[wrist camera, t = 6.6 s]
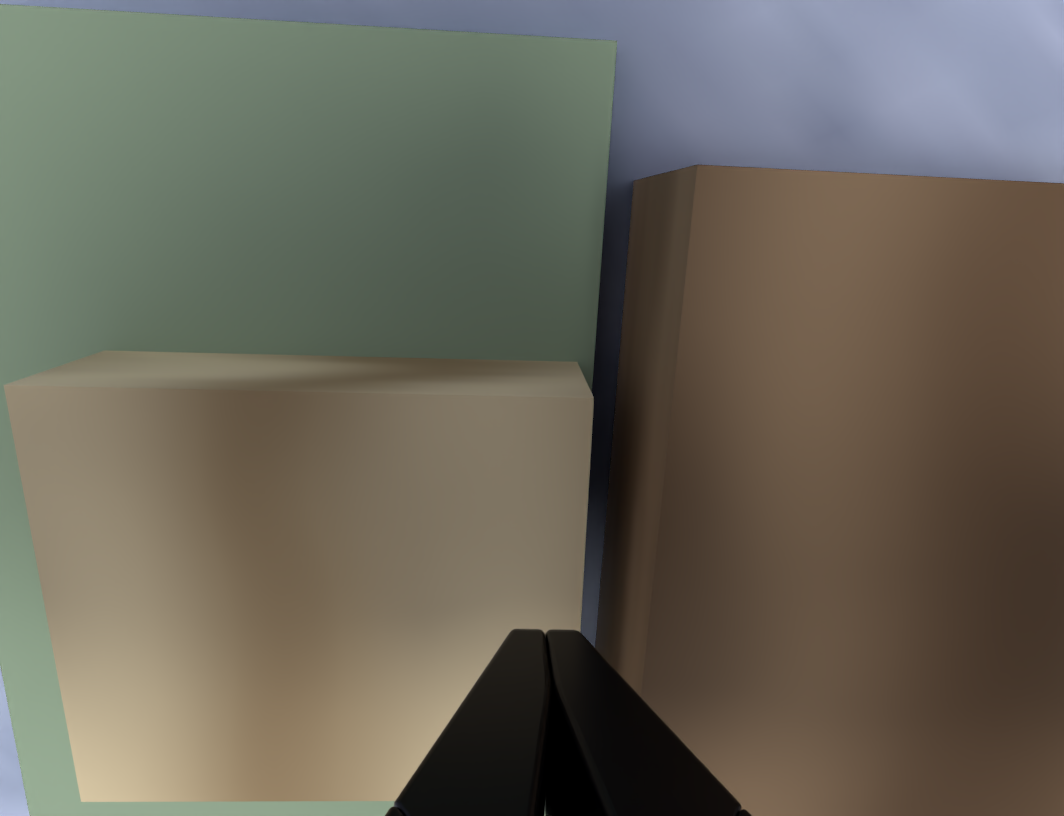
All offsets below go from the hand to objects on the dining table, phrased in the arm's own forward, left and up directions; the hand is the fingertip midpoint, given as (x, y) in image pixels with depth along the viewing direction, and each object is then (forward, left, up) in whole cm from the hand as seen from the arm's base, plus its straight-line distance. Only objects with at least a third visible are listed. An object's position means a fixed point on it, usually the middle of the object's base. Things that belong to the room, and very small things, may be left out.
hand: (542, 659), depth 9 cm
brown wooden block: (-6, 0, -5) cm, 8 cm away
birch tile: (+3, +1, -4) cm, 5 cm away
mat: (+5, 0, -5) cm, 7 cm away
